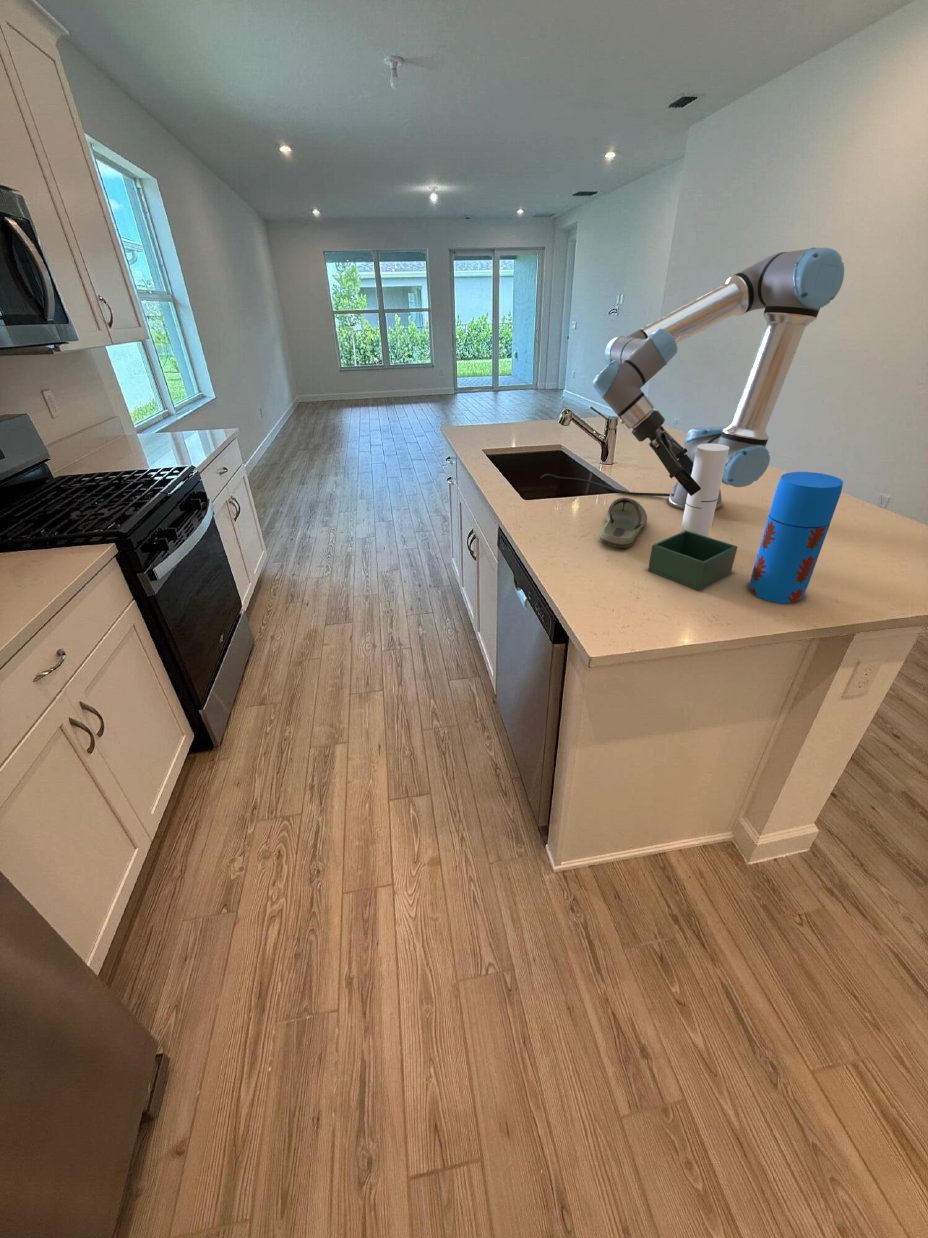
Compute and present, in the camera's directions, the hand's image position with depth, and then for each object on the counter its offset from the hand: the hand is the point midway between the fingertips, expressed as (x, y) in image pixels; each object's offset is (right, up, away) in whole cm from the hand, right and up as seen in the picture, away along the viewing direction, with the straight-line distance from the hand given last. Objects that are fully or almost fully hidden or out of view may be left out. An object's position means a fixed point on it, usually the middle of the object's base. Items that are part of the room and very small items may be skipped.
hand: (696, 484), depth 127 cm
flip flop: (-14, -9, +17) cm, 24 cm away
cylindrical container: (+3, -14, +8) cm, 16 cm away
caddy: (-5, -23, -6) cm, 24 cm away
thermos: (+10, -28, -16) cm, 34 cm away
